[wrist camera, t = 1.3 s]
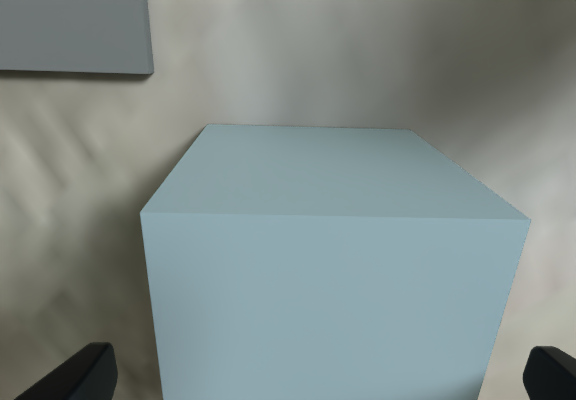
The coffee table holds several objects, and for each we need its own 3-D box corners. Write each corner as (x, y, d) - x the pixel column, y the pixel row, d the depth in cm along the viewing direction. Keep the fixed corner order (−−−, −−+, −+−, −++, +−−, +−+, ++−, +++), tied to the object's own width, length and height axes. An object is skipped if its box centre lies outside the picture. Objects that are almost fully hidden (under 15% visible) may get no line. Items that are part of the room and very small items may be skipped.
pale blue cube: (384, 295, 16) (455, 472, 10) (215, 293, 16) (172, 473, 9) (409, 129, 13) (531, 219, 7) (207, 124, 13) (139, 212, 7)
